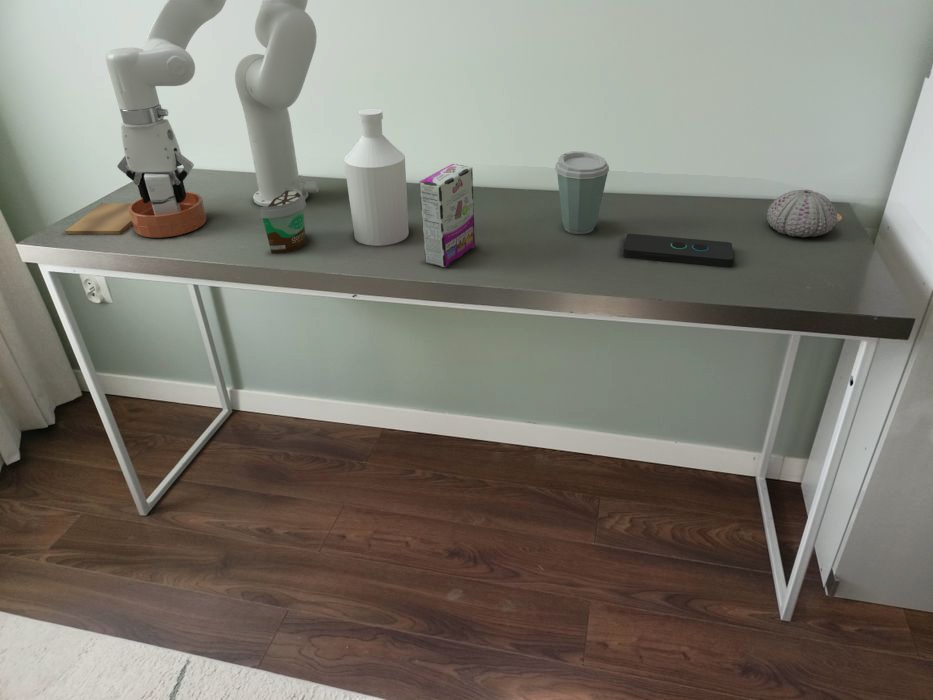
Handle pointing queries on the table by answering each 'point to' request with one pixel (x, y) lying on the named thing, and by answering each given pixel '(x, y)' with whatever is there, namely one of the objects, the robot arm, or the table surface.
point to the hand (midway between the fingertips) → (164, 200)
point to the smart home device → (678, 250)
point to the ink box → (161, 193)
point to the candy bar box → (447, 214)
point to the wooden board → (103, 220)
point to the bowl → (168, 218)
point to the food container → (285, 221)
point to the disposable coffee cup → (581, 189)
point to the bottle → (376, 185)
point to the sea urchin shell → (802, 214)
